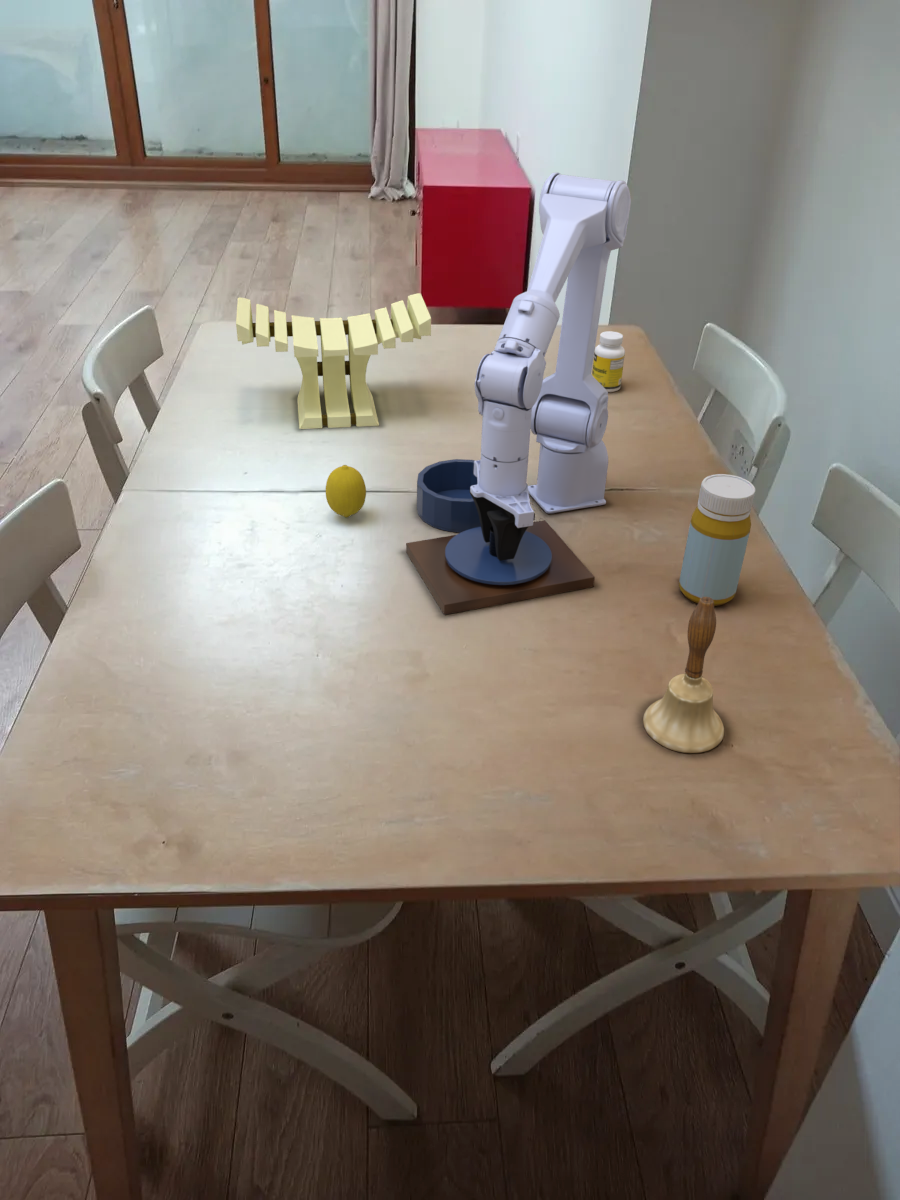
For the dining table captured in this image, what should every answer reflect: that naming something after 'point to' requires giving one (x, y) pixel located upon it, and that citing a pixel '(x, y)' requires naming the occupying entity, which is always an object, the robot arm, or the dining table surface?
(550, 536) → the board
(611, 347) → the supplement bottle
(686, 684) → the hand bell
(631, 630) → the dining table surface
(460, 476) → the tin
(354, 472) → the lemon
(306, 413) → the slatted curved stool
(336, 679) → the dining table surface
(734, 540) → the bottle
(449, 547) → the lid
